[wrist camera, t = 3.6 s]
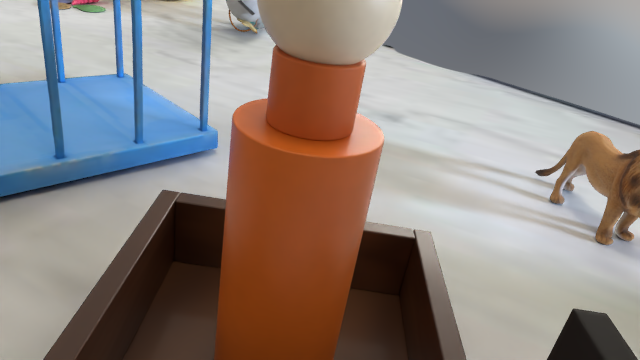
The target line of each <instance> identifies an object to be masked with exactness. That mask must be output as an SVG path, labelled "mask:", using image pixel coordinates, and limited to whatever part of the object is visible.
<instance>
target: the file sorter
mask: <svg viewBox="0 0 640 360" xmlns="http://www.w3.org/2000/svg"><path fill="white" fill-rule="evenodd" d="M113 5H114V24H115V45H116V65H117V74H112V75H100V76H88V77H76V78H65V75H64V64H63V53H62V43H61V32H60V21H59V8H58V0H50V5H49V0H38V9H39V17H40V26H41V35H42V43H43V50H44V59H45V68H46V77H47V80H42V81H30V82H18V83H6V84H0V197H1V196H6V195H10V194H15V193H19V192H24V191H28V190H33V189H37V188H41V187H46V186H50V185H54V184H59V183H63V182H68V181H72V180H77V179H81V178H86V177H90V176H94V175H99V174H103V173H107V172H112V171H117V170H121V169H126V168H130V167H135V166H139V165H144V164H148V163H152V162H157V161H161V160H165V159H170V158H174V157H179V156H183V155H188V154H192V153H197V152H201V151H205V150H210V149H214V148H217V147H218V131H217V130H215V129H214V128H212V127H211V126H209V125H207V123H208V97H209V74H210V46H211V19H212V0H203V27H202V31H203V34H202V63H201V94H200V120H199V119H198V118H196V117H195V116H193V115H192V114H190V113H188V112H187V111H185V110H184V109H182V108H180V107H179V106H177V105H176V104H174V103H172V102H171V101H169V100H168V99H166V98H165V97H163V96H161V95H160V94H158V93H156V92H155V91H153V90H152V89H150V88H148V87H147V86H145V85H144V84H143V79H142V18H141V0H131V11H132V40H133V78H132V77H131V76H129V75H128V74H124V73H123V51H122V30H121V9H120V0H113ZM50 6H51V14H50ZM51 16H52V23H51ZM52 26H53V33H52ZM53 36H54V42H53ZM54 46H55V51H54ZM55 55H56V61H55ZM56 65H57V70H56ZM57 74H58V79H57Z"/></svg>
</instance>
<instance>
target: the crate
mask: <svg viewBox="0 0 640 360" xmlns="http://www.w3.org/2000/svg"><path fill="white" fill-rule="evenodd" d="M225 209H226V200H225V199H219V198H212V197H206V196H200V195H193V194H187V193H179V192H174V191H168V190H162V192H161V193H160V194H159V196H158V197H157V199H156V200H155V201H154V203H153V204H152V206H151V207H150V209H149V210H148V211H147V213H146V214H145V216H144V217H143V219H142V220H141V221H140V223H139V224H138V226H137V227H136V228H135V230H134V231H133V233H132V234H131V236H130V237H129V238H128V240H127V241H126V243H125V244H124V246H123V247H122V248H121V250H120V251H119V253H118V254H117V256H116V257H115V258H114V260H113V261H112V263H111V264H110V265H109V267H108V268H107V270H106V271H105V273H104V274H103V275H102V277H101V278H100V280H99V281H98V283H97V284H96V285H95V287H94V288H93V290H92V291H91V292H90V294H89V295H88V297H87V298H86V300H85V301H84V302H83V304H82V305H81V307H80V308H79V310H78V311H77V312H76V314H75V315H74V317H73V318H72V320H71V321H70V322H69V324H68V325H67V327H66V328H65V329H64V331H63V332H62V334H61V335H60V337H59V338H58V339H57V341H56V342H55V344H54V345H53V347H52V348H51V349H50V351H49V352H48V354H47V355H46V356H45V358H44V359H43V360H214V353H215V340H216V327H217V314H218V301H219V288H220V274H221V261H222V248H223V235H224V222H225ZM333 360H466V357H465V353H464V349H463V346H462V342H461V339H460V335H459V332H458V328H457V324H456V321H455V317H454V314H453V310H452V307H451V303H450V299H449V296H448V292H447V289H446V285H445V282H444V278H443V274H442V271H441V267H440V264H439V260H438V257H437V253H436V249H435V246H434V242H433V239H432V235H431V232H428V231H422V230H414V231H413V229H410V228H403V227H397V226H391V225H384V224H378V223H371V222H365V225H364V230H363V234H362V238H361V243H360V247H359V251H358V256H357V260H356V264H355V269H354V273H353V277H352V281H351V286H350V290H349V294H348V299H347V303H346V307H345V312H344V316H343V320H342V324H341V329H340V333H339V337H338V342H337V346H336V350H335V355H334V359H333Z"/></svg>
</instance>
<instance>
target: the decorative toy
mask: <svg viewBox="0 0 640 360" xmlns="http://www.w3.org/2000/svg"><path fill="white" fill-rule="evenodd" d="M226 2H227V5H228V8H229V18H230V21H231V16H230V11H231V12H232V14H233V15H234V16H235V17H236V18H237V20H238V21H240V22H242V24H243V25H245V26H247V27H249V28H250V29H248V30H243V32H245V31H246V32H247V31H249V30H252V31H253V32H255V33H257V29H261V28H265V27H264V25H263V23H262V20H261V17H260V14H259V9H258V5H257V0H226ZM231 23H232V22H231ZM232 25H233V23H232ZM233 26H234V25H233ZM234 28H235V26H234ZM235 29H237V28H235ZM237 30H238V31H241V32H242V30H239V29H237Z"/></svg>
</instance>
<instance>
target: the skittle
mask: <svg viewBox="0 0 640 360" xmlns="http://www.w3.org/2000/svg"><path fill="white" fill-rule="evenodd" d="M257 5H258V9H259V14H260V17H261V20H262V23H263V25H264V27H265V29H266V31H267V33H268V34H269V36H270V37H271V39H272V40H273V41H274V43H275V44H276V46H275V47H274V48H273V56H272V65H271V74H270V83H269V92H268V98H267V99H260V100H255V101H251V102H248V103H245V104H243V105H241V106H240V107H239V108H237V109H236V111H235V112H234V114H233V117H232V130H231V143H230V156H229V169H228V182H227V196H226V209H225V222H224V235H223V248H222V261H221V274H220V288H219V301H218V314H217V327H216V340H215V353H214V360H333V359H334V355H335V350H336V346H337V342H338V337H339V333H340V329H341V324H342V320H343V316H344V312H345V307H346V303H347V299H348V294H349V290H350V286H351V281H352V277H353V273H354V269H355V264H356V260H357V256H358V251H359V247H360V243H361V238H362V234H363V230H364V225H365V221H366V217H367V213H368V208H369V204H370V200H371V195H372V191H373V187H374V182H375V178H376V174H377V170H378V165H379V161H380V157H381V152H382V148H383V144H384V135H383V132H382V131H381V129H380V128H379V127H378V126H377V125H376V124H375V123H374V122H373V121H371V120H370V119H368V118H366V117H364V116H363V115H361V114H359V113H357V108H358V103H359V98H360V93H361V88H362V83H363V77H364V72H365V67H366V61H365V60H364V59H365V58H367V57H369V56H370V55H371V54H373V53H374V52H375V51H376V50H377V49H378V48H379V47H380V46H381V45H382V44H383V43H384V42H385V40H386V39H387V38H388V37H389V35H390V34H391V32H392V30H393V28H394V27H395V24H396V22H397V20H398V17H399V14H400V10H401V6H402V0H257Z"/></svg>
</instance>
